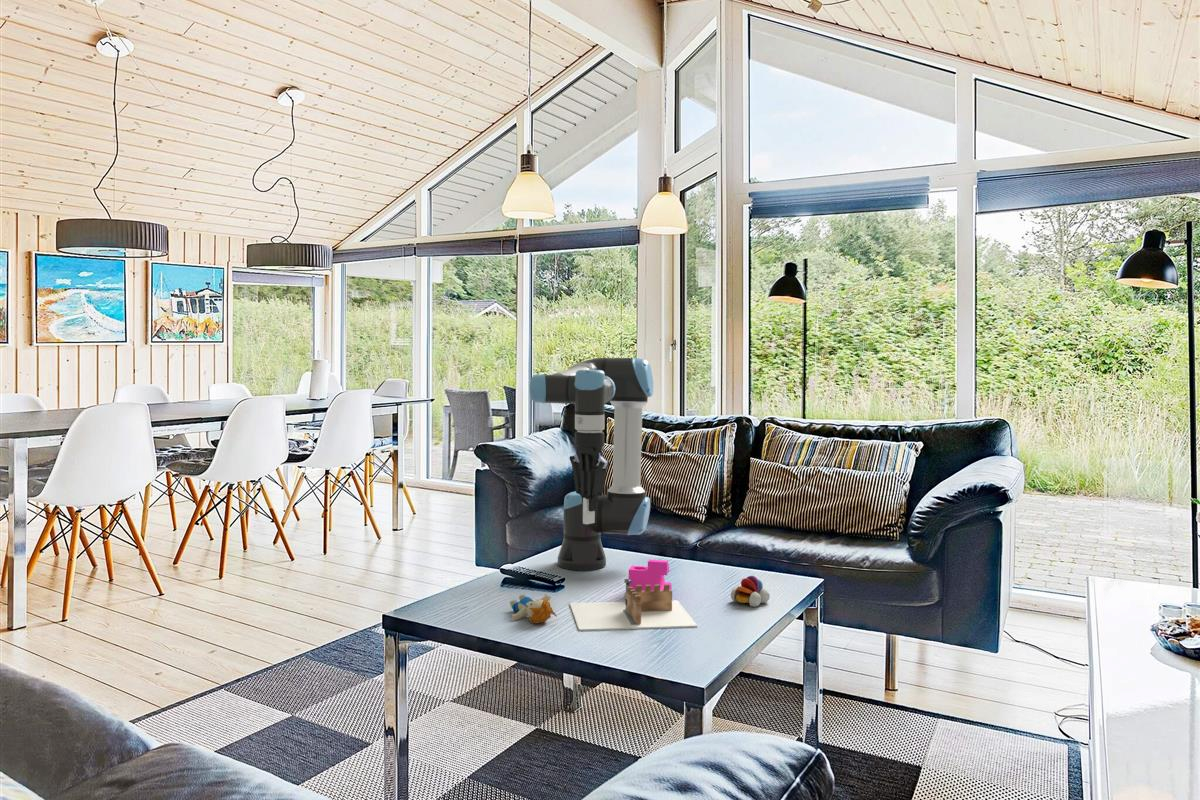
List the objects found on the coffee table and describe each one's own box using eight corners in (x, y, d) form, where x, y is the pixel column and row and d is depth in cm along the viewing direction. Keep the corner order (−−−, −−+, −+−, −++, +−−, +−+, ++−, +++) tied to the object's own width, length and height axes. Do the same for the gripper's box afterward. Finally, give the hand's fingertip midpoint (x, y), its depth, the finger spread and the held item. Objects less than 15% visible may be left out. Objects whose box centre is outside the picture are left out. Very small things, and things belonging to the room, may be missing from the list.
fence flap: (624, 611, 218) (625, 585, 218) (631, 610, 219) (632, 585, 218) (635, 624, 208) (635, 597, 208) (642, 623, 209) (642, 597, 208)
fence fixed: (633, 611, 219) (634, 586, 219) (632, 610, 220) (633, 584, 220) (671, 610, 220) (672, 585, 220) (670, 608, 222) (671, 583, 221)
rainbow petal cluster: (726, 603, 229) (727, 576, 228) (746, 596, 236) (747, 570, 236) (753, 610, 223) (754, 582, 223) (773, 602, 230) (773, 576, 230)
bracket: (666, 600, 229) (666, 562, 228) (628, 598, 231) (628, 560, 230) (671, 590, 240) (672, 553, 240) (635, 587, 242) (636, 551, 242)
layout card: (570, 604, 225) (570, 602, 225) (677, 601, 229) (677, 599, 229) (579, 631, 205) (579, 629, 204) (697, 627, 209) (697, 625, 209)
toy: (533, 582, 223) (561, 590, 210) (542, 602, 224) (569, 612, 211) (495, 605, 217) (520, 615, 204) (504, 626, 218) (530, 637, 205)
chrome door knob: (623, 610, 220) (623, 579, 220) (630, 609, 220) (630, 578, 220) (624, 612, 218) (625, 580, 218) (631, 611, 219) (632, 580, 218)
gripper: (561, 429, 218) (560, 520, 220) (595, 434, 208) (594, 529, 210) (583, 427, 223) (582, 516, 225) (618, 432, 213) (617, 525, 215)
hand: (588, 523), depth 217 cm, fingers closed
